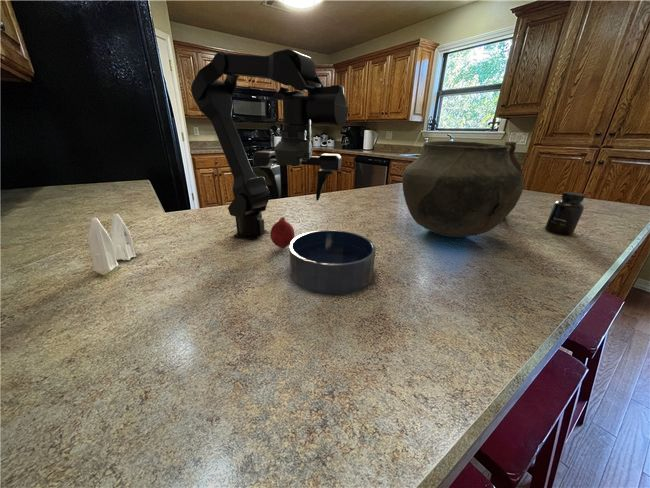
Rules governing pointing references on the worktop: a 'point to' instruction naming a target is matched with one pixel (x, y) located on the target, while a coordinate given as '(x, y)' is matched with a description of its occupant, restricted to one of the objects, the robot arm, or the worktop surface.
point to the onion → (282, 233)
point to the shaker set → (109, 244)
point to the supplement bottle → (565, 214)
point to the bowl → (331, 261)
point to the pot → (461, 187)
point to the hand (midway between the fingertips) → (298, 198)
